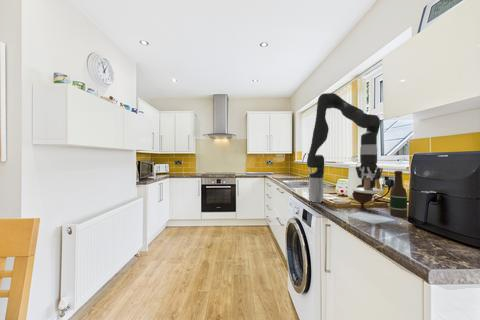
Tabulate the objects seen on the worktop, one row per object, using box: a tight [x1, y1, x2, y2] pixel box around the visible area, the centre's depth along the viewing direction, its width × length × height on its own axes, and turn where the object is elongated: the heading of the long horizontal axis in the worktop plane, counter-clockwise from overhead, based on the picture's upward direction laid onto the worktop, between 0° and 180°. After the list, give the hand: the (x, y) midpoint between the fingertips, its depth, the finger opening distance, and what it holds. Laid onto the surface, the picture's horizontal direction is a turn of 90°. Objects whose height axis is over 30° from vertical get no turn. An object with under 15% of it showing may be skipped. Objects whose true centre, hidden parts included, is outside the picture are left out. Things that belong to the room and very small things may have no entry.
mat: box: [342, 211, 396, 225], centre depth 112 cm, size 18×16×1 cm
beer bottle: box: [389, 170, 408, 219], centre depth 115 cm, size 8×8×24 cm
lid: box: [352, 177, 385, 195], centre depth 112 cm, size 14×14×7 cm
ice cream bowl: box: [352, 183, 374, 211], centre depth 130 cm, size 11×11×15 cm
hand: (368, 187), depth 112 cm, fingers closed on lid, 4 cm apart
